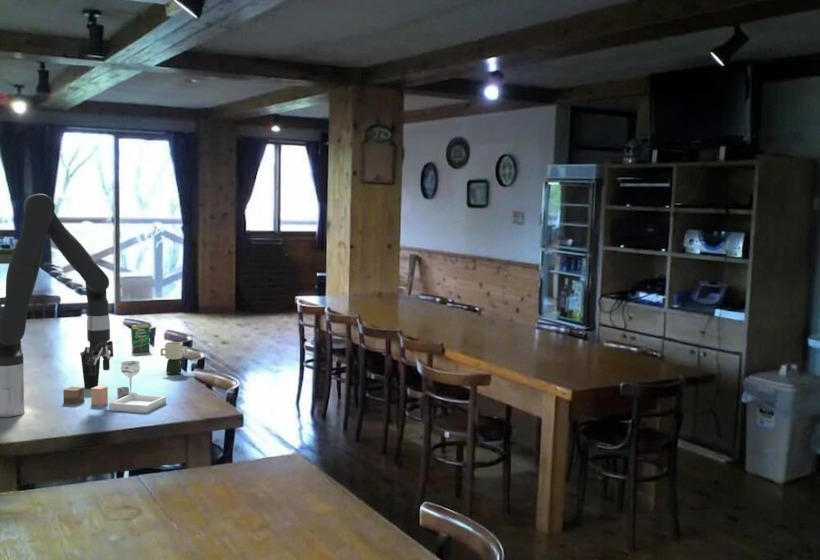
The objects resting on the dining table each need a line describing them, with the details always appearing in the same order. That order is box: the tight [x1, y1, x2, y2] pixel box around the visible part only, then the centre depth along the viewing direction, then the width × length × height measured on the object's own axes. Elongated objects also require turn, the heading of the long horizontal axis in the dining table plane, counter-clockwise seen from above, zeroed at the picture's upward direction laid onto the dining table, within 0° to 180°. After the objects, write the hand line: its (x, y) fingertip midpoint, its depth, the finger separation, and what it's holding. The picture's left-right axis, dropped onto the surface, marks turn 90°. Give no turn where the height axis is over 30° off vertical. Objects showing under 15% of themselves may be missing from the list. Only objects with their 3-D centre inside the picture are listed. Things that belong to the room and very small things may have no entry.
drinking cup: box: [79, 342, 101, 390], centre depth 308 cm, size 8×8×20 cm
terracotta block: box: [90, 385, 109, 406], centre depth 284 cm, size 4×4×6 cm
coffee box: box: [130, 324, 151, 354], centre depth 382 cm, size 8×3×13 cm, turn 118°
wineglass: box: [120, 360, 141, 394], centre depth 299 cm, size 7×7×12 cm
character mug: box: [160, 341, 188, 375], centre depth 336 cm, size 11×7×13 cm, turn 118°
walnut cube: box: [62, 386, 85, 405], centre depth 286 cm, size 5×5×5 cm
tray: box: [108, 393, 167, 414], centre depth 282 cm, size 14×14×2 cm
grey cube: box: [116, 386, 130, 400], centre depth 292 cm, size 4×4×4 cm
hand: (99, 372), depth 283 cm, fingers open, 8 cm apart
